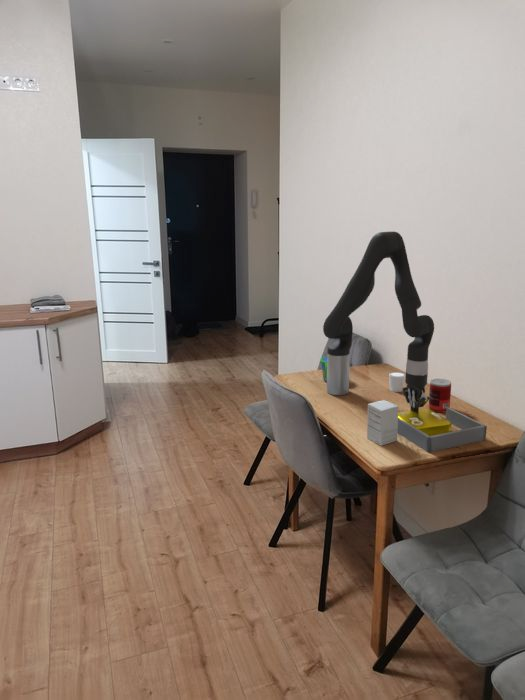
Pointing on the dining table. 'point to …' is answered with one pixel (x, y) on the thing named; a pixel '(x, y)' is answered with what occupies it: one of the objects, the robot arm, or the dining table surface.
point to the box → (467, 435)
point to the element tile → (426, 421)
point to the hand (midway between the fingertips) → (414, 416)
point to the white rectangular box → (382, 422)
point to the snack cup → (324, 367)
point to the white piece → (396, 381)
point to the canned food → (439, 395)
